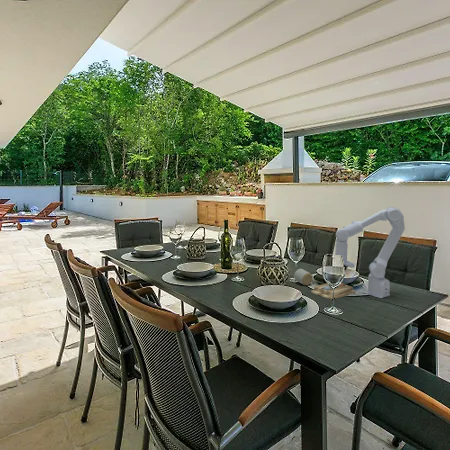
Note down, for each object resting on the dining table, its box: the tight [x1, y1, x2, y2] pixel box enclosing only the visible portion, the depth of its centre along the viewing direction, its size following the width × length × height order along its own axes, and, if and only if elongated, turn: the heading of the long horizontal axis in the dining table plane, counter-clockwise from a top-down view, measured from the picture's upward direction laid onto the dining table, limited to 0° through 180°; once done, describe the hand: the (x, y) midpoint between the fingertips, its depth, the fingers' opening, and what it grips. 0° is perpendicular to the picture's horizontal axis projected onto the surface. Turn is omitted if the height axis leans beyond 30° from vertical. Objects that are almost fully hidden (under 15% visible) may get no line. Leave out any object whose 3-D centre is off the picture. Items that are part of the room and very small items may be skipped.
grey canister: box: [293, 268, 316, 286], centre depth 183 cm, size 11×8×8 cm
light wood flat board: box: [311, 283, 356, 301], centre depth 168 cm, size 13×18×3 cm
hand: (340, 278), depth 170 cm, fingers closed
